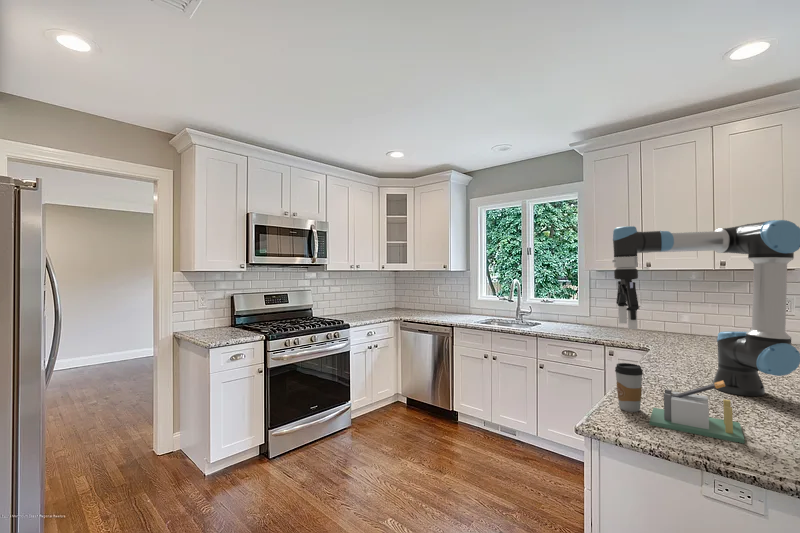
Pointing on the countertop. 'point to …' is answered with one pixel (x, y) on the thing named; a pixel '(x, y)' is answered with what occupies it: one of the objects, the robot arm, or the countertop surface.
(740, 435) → the heatsink base
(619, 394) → the coffee cup
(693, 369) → the countertop surface
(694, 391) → the strap
